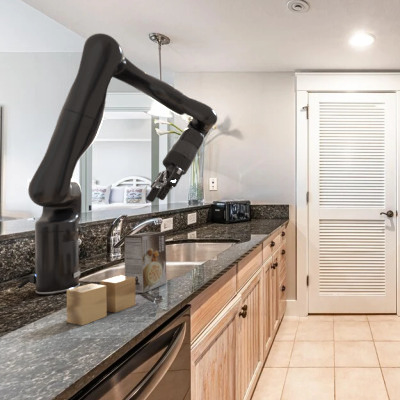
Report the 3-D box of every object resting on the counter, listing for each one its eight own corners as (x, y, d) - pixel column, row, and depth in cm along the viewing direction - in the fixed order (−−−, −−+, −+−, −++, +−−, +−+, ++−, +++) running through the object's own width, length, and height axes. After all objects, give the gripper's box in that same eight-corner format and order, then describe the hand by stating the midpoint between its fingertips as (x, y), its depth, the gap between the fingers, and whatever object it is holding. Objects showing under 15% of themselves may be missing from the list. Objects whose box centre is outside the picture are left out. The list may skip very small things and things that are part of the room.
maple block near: (66, 322, 62) (66, 290, 62) (91, 313, 67) (91, 283, 67) (82, 325, 61) (82, 292, 61) (106, 316, 65) (106, 285, 65)
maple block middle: (100, 310, 69) (100, 280, 69) (121, 302, 74) (120, 275, 74) (115, 312, 67) (115, 282, 67) (135, 305, 72) (135, 277, 72)
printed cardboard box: (149, 282, 91) (148, 231, 90) (167, 283, 89) (166, 231, 89) (124, 292, 82) (123, 235, 81) (143, 293, 80) (142, 236, 80)
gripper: (161, 153, 96) (134, 195, 89) (180, 145, 87) (150, 190, 80) (181, 167, 101) (156, 207, 94) (201, 160, 92) (175, 204, 85)
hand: (154, 199), depth 87 cm, fingers open, 8 cm apart
